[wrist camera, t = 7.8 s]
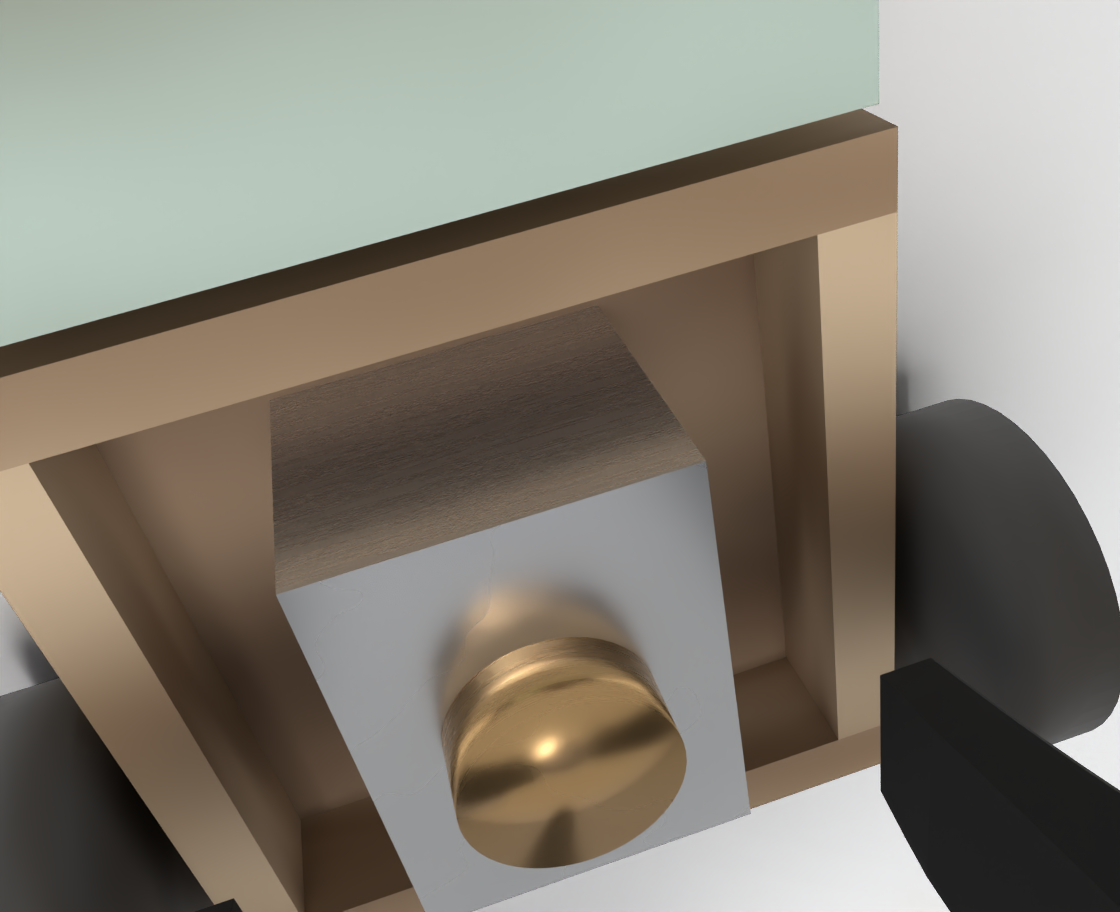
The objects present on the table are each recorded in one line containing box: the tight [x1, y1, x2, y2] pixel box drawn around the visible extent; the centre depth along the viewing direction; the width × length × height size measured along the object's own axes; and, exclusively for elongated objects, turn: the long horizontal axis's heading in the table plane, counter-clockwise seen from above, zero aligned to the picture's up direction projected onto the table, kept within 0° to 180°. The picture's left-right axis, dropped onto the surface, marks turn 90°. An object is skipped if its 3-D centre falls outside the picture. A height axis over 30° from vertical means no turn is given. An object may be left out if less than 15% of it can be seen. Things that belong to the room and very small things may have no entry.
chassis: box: [0, 0, 1120, 912], centre depth 12 cm, size 20×16×6 cm
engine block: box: [270, 305, 751, 912], centre depth 13 cm, size 6×4×5 cm
